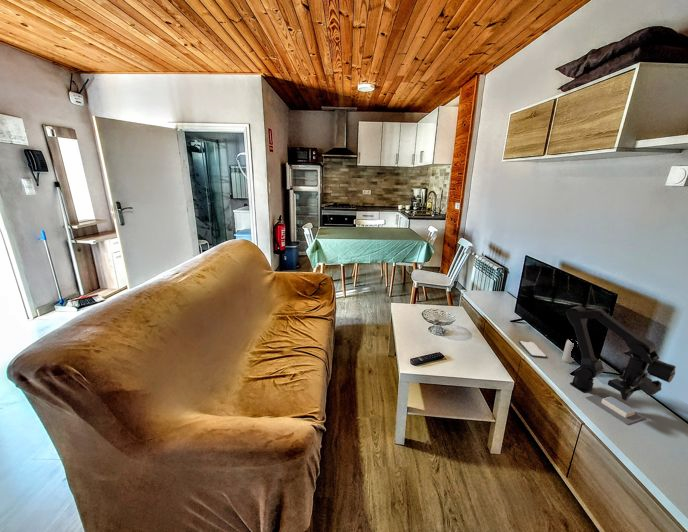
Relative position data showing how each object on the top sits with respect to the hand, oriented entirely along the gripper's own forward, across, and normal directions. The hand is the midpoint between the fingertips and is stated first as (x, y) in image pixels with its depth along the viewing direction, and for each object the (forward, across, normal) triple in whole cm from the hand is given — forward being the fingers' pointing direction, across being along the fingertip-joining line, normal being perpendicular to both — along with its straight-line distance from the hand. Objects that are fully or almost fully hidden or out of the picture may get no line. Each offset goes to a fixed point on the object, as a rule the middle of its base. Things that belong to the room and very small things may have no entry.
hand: (624, 399), depth 128 cm
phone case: (+5, +4, +47) cm, 47 cm away
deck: (+3, 0, 0) cm, 3 cm away
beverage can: (+5, +14, +33) cm, 36 cm away
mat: (+4, -3, +1) cm, 5 cm away
